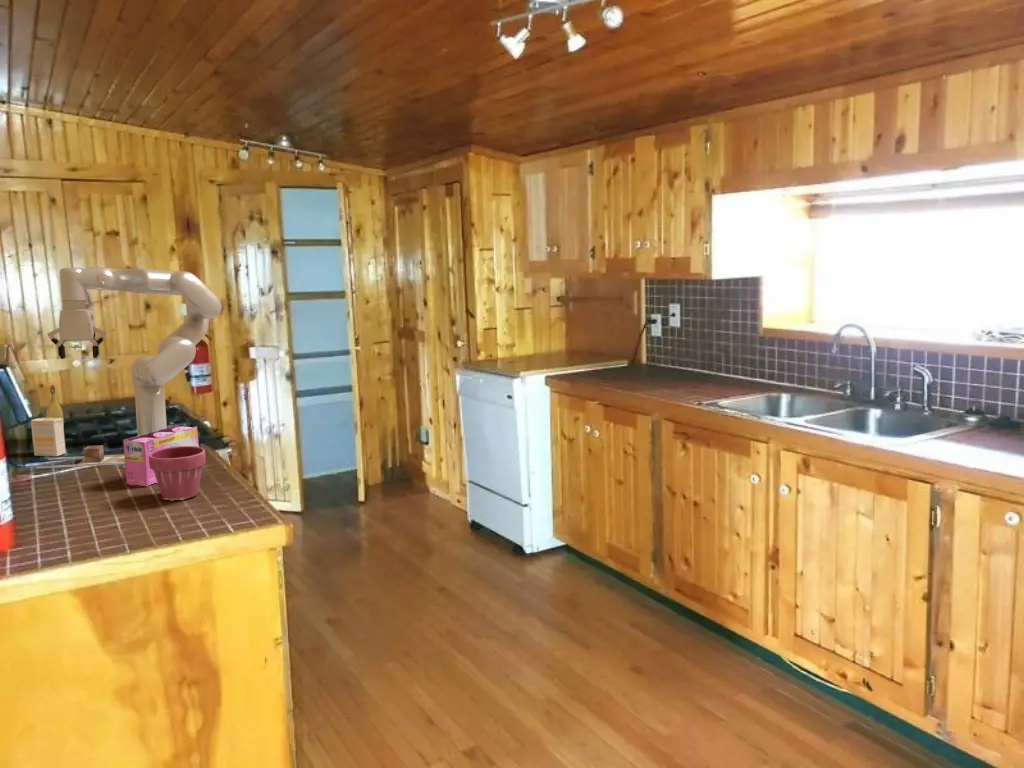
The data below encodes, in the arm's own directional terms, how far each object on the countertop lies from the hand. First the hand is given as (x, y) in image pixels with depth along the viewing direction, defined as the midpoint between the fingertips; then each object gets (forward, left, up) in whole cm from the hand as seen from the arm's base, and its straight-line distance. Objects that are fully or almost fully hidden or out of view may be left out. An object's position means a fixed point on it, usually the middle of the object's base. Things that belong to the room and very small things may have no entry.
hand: (79, 358), depth 260 cm
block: (-6, +14, -32) cm, 35 cm away
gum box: (-31, +33, -33) cm, 56 cm away
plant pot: (-39, +56, -33) cm, 76 cm away
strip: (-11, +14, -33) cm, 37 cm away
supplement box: (+11, +1, -33) cm, 35 cm away
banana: (+16, -18, -33) cm, 40 cm away
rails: (-6, +14, -33) cm, 36 cm away
